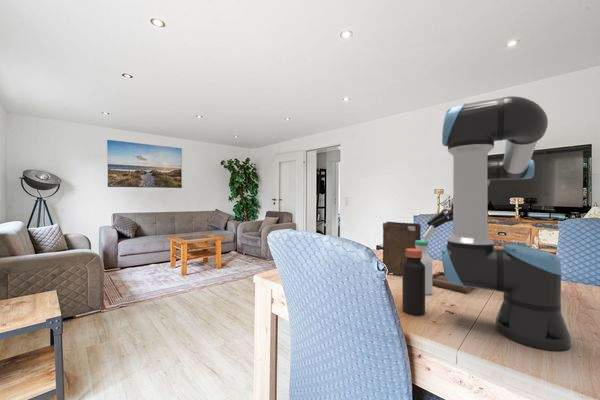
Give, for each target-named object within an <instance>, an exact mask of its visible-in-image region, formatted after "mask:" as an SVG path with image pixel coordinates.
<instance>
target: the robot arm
mask: <svg viewBox="0 0 600 400" xmlns="http://www.w3.org/2000/svg"><path fill="white" fill-rule="evenodd" d="M548 126H549V121H548V116H547V114H546V112H545V110H544V109H543V108H542V107H541V106H540V105H539V104H538V103H536V102H534V101H533V100H530V99H529V98H526V97H521V96H511V95H510V96H505V97H500V98H493V99H487V100H481V101H476V102H475V101H474V102H468V103H463V104H460V105H455V106H451V107H449V108H448V109H447V111H446V112H445V116H444V119H443V125H442V133H441V134H442V138H441V143H442V145H443V147H447V152H448V153H449V154H450V155H452V157H453V167H452V169H453V173H452V175H453V176H452V178H453V179H452V180H453V186H452V187H453V188H452V189H453V191H452V195H453V196H452V197H453V198H452V201H453V203H452V204H451V207H450V209H449V210H446V209H445V208H444V209H442V210H441V211H440V212H439V213H438V214H437V215H435V216H434V217H433V218H431V219H430V220H428V221H427V222H426V225H428V228H426V230H425V233H424V234H423V238H424V240H425V241H428V242H429V239H430V238H431V237H432V235H433V233H434V232H435V231H436V229H437V228H438V227H440V226H441V225H444V224H445V223H447V222H448V223H450V222H452V224H453V225H452V235H451V236H450V237H448V238H447V241H446V242H447V244H446V243H445V244H442V245H441V262H442V268H443V272H444V274H445V277H446V279H447V280H448V282H450V283H452V284H456V285H461V286H463V287H466V286H467V287H473V288H474V289H482V290H487V291H488V290H489V291H492V292H493V291H494V292H495V291H496V292H499V293H500V292H501V293H503V296H502V297H503V300H502V303H501V305H500V308H499V310H498V312H497V315H496V317H495V329H496V331H498V332H499V333H500V334H501V335H503V336H504V337H506V338H508V339H509V340H512V341H514V342H517V343H519V344H522V345H525V346H528V347H532V348H535V349H540V348H541V350H546V349H549V350H548V351H557V350H559V351H565V350H564V349H566V350H569V349H570V348H571V343H572V342H571V341H572V339H571V334H570V332H569V329H568V326H567V325H566V321H565V319H564V317H563V315H562V276H563V271H562V265H561V264H562V263H561V259H560V258H559V257H558V256H557V255H556V254H554V253H553V252H550V251H546V250H543V249H539V248H534V247H529V246H524V245H518V244H504V245H503V246H502V249H499V248H495V245H494V243H495V242H494V241H493V240H492V239H490V238H489V236H488V187H489V185H490V183H491V181H503V180H504V181H507V180H508V181H509V180H510V181H511V180H512V181H513V180H528V179H529V180H530V179H532V178H533V177H534V176H535V161H534V160H533V159H532V157H533V154H534V152H535V148H536V146H537V144H538V141H539V140H541V139H542V138H543V137H544V136H545V133H546V132H547V129H548ZM505 140H506V141H505ZM497 141H499V142H500V141H505V147H504V154H503V155H504V156H503V160H496V161H495V160H494V161H488V160H489V159H488V154H489V153H490V152H491V151H492V150H493V149H494V148H495V142H497ZM568 348H569V349H568Z"/></svg>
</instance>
